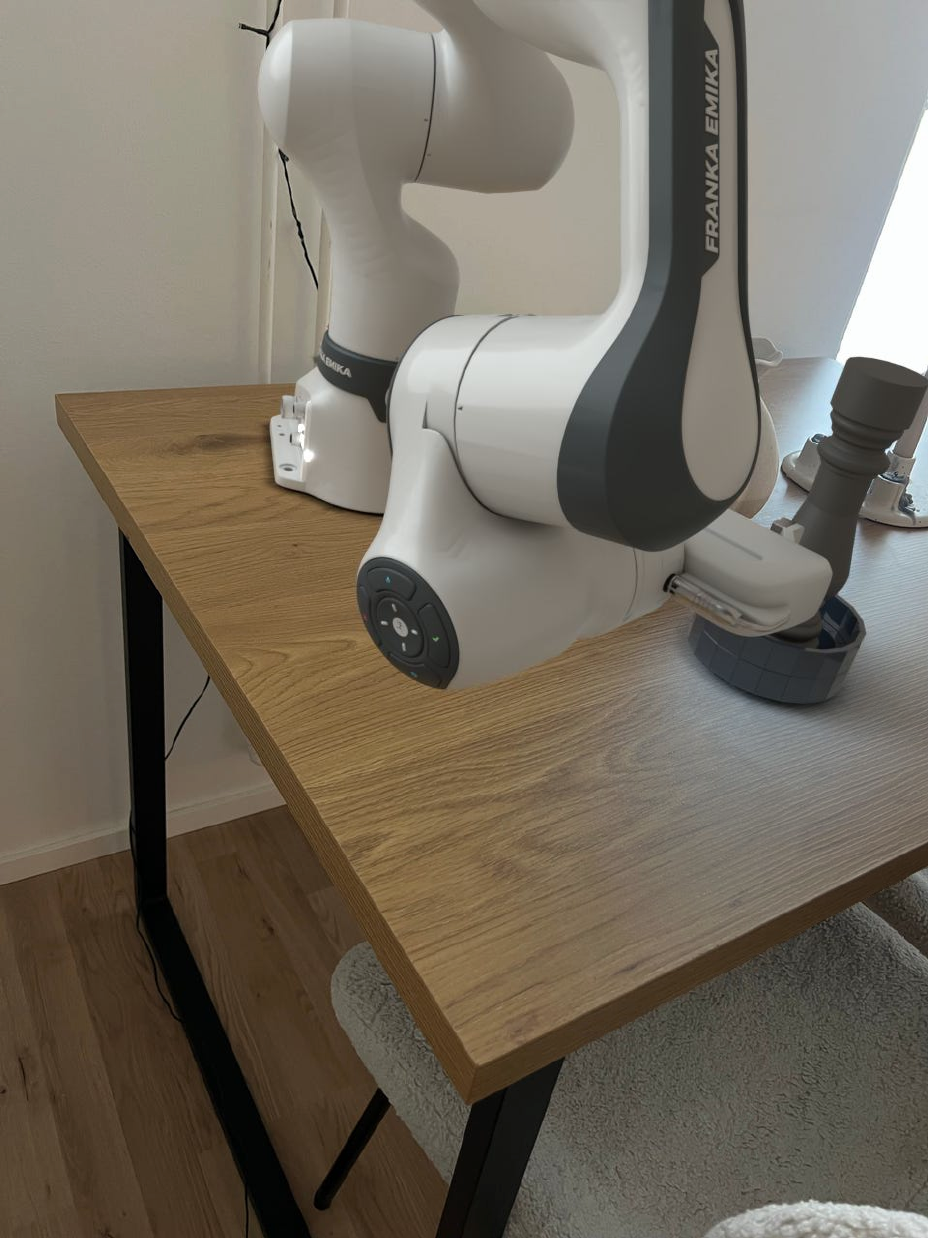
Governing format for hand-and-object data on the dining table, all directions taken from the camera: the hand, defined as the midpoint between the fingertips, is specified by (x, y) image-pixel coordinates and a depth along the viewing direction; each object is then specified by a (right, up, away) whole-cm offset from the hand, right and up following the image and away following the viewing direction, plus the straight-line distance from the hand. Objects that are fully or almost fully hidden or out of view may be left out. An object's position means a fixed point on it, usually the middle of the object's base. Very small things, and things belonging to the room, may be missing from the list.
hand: (730, 501), depth 67 cm
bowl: (+7, -11, +17) cm, 22 cm away
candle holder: (+7, -12, +16) cm, 21 cm away
